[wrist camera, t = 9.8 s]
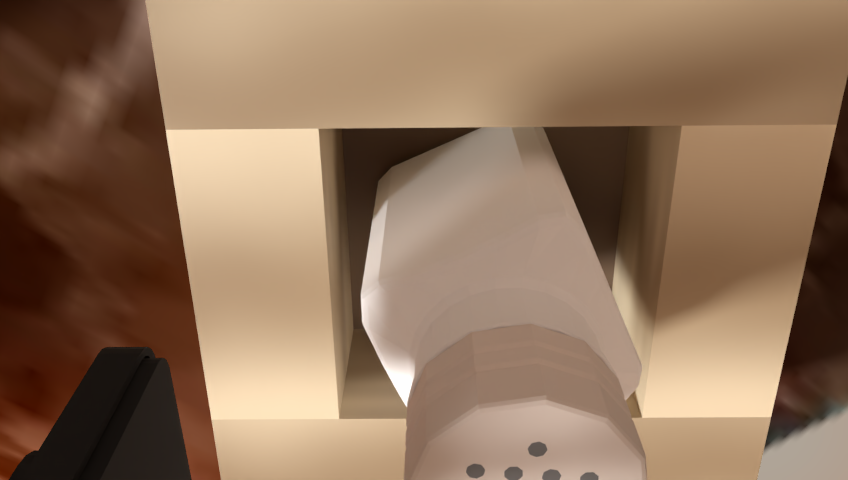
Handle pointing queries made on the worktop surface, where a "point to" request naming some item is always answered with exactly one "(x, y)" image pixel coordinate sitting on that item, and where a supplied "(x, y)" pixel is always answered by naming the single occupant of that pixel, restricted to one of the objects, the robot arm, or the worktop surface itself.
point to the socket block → (457, 116)
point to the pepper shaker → (498, 318)
